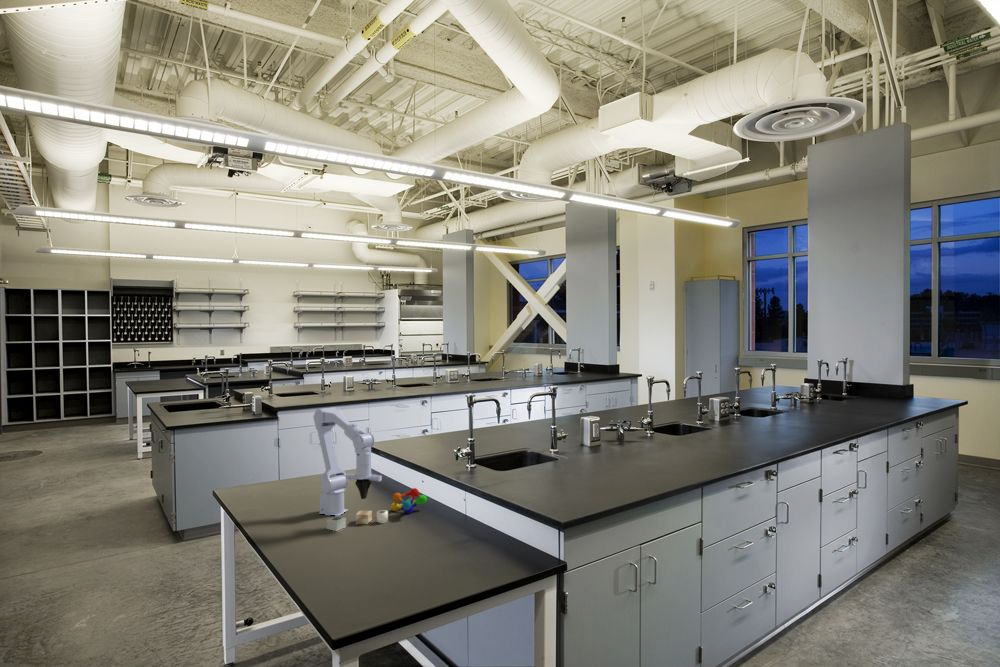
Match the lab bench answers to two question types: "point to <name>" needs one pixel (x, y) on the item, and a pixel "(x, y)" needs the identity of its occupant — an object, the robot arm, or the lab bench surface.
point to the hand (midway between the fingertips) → (363, 498)
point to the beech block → (363, 517)
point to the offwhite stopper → (382, 516)
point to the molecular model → (408, 504)
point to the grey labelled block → (336, 523)
